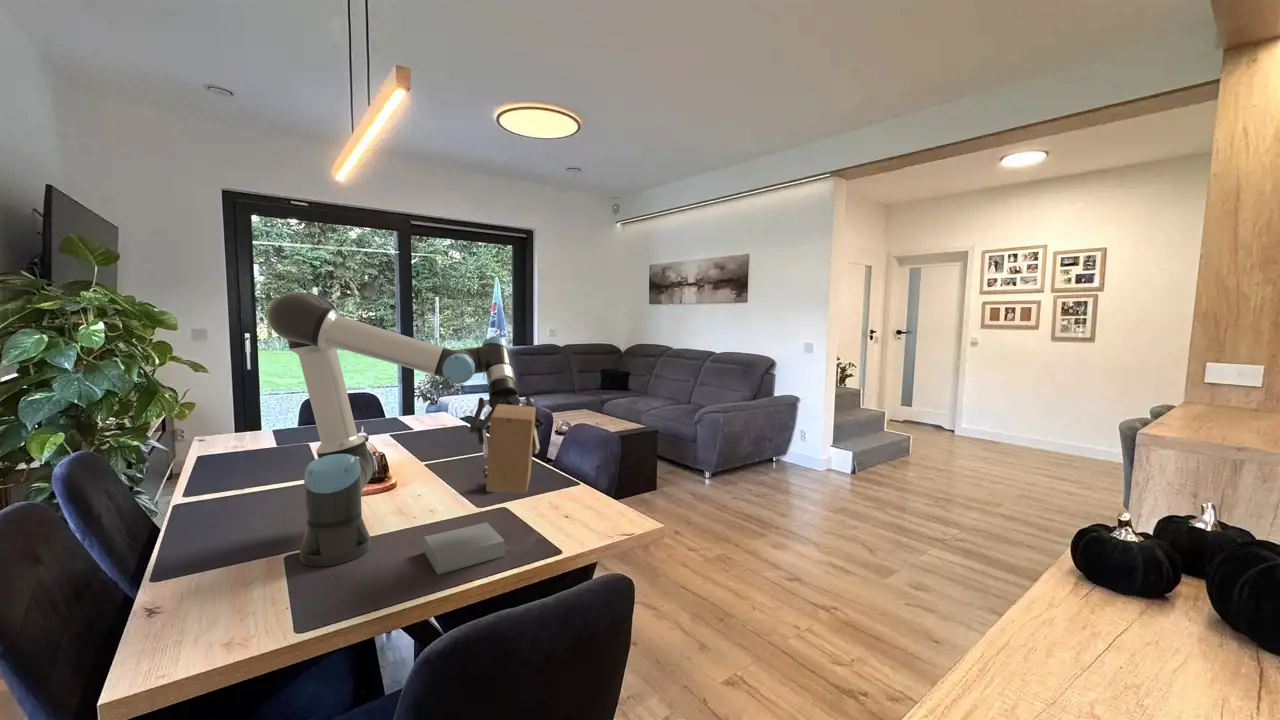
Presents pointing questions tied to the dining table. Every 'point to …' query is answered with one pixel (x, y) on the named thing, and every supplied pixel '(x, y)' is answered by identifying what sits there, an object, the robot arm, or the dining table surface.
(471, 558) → the plinth
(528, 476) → the wooden block
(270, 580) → the dining table surface
